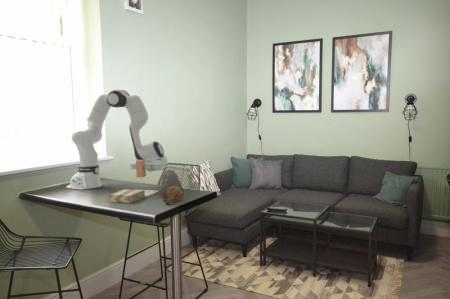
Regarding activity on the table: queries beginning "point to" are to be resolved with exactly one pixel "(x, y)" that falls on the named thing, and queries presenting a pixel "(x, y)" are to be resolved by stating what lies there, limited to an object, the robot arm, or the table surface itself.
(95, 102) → the robot arm
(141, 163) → the block
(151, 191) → the mat
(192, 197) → the table surface
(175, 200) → the tin
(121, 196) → the deck
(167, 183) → the decorative rock
